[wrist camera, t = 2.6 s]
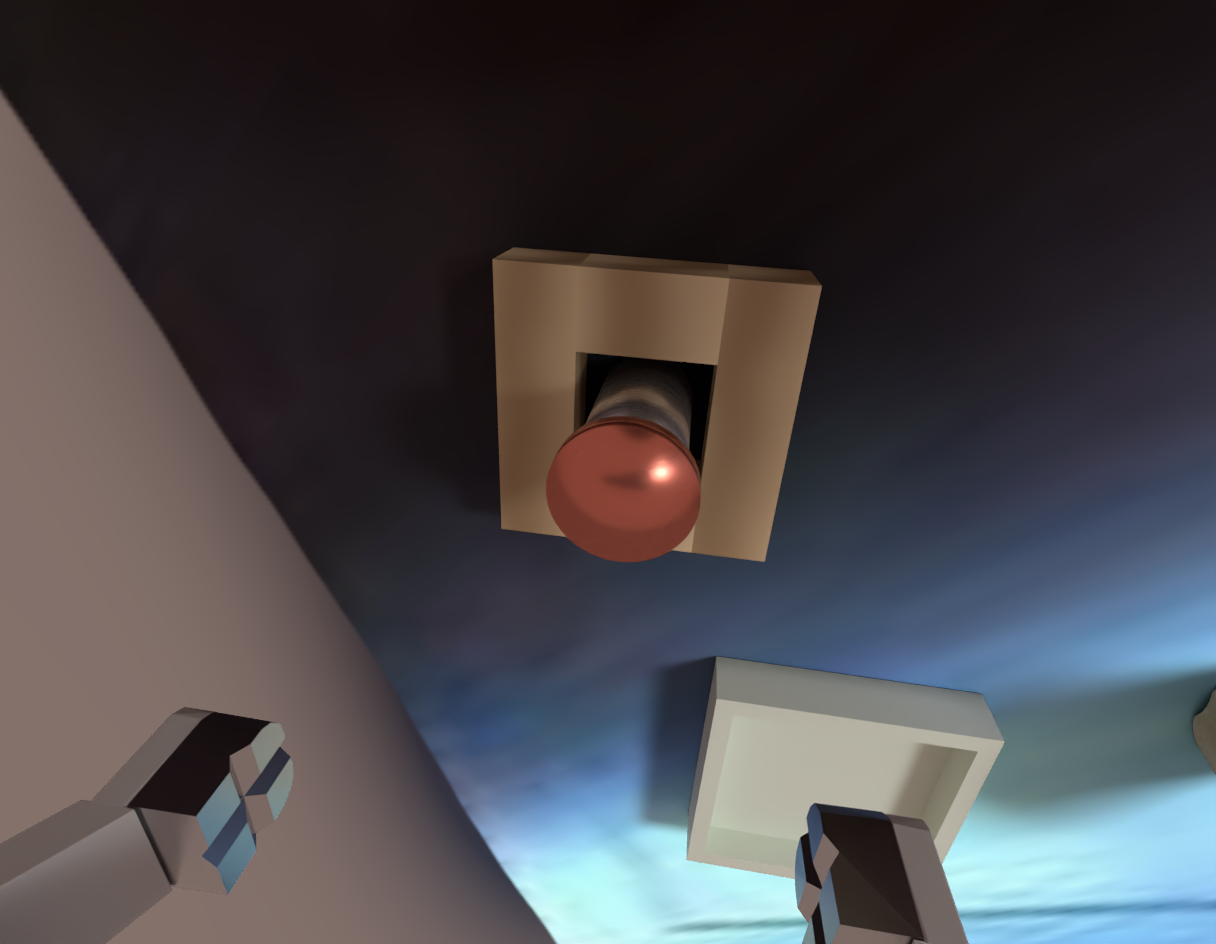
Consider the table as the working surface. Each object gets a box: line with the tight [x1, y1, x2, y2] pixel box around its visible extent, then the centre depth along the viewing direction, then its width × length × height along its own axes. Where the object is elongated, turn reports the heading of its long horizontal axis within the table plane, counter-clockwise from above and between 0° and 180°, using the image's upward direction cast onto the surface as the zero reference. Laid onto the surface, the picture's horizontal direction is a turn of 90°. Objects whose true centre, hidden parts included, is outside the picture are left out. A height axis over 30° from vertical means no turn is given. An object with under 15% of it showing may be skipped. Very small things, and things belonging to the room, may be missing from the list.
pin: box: [546, 357, 701, 562], centre depth 20 cm, size 4×4×8 cm
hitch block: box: [493, 247, 822, 562], centre depth 23 cm, size 10×10×2 cm
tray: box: [687, 656, 1005, 879], centre depth 30 cm, size 12×12×2 cm
